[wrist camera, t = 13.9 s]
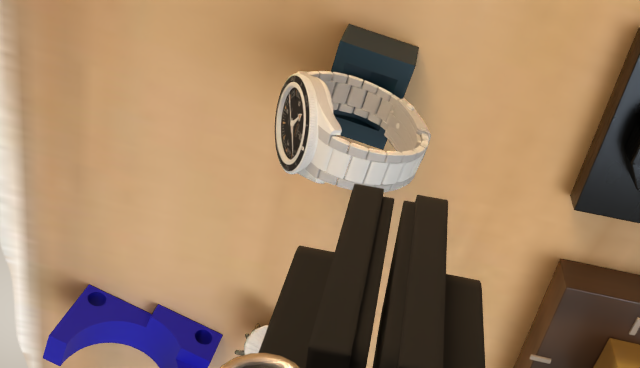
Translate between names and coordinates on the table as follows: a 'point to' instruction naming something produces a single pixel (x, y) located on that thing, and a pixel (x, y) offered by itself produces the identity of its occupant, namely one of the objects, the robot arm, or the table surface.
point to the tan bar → (619, 355)
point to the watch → (353, 116)
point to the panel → (582, 317)
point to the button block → (615, 151)
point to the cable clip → (131, 332)
